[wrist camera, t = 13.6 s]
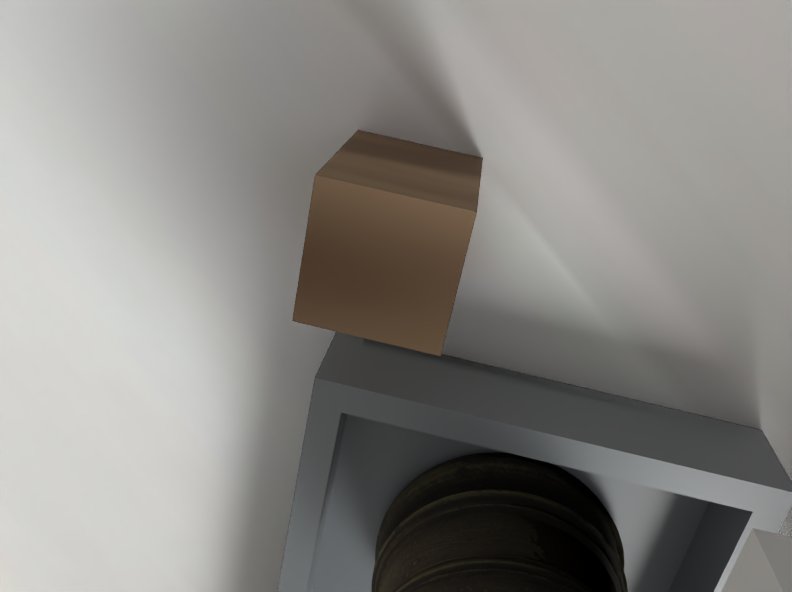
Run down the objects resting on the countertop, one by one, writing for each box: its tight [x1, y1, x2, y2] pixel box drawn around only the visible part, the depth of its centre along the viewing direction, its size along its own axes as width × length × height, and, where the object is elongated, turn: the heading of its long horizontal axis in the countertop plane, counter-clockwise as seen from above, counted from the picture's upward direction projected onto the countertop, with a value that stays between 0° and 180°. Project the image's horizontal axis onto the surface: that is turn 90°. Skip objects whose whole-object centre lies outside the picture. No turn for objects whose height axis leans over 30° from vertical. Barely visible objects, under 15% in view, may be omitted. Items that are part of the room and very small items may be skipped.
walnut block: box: [292, 130, 483, 356], centre depth 22 cm, size 4×4×6 cm
